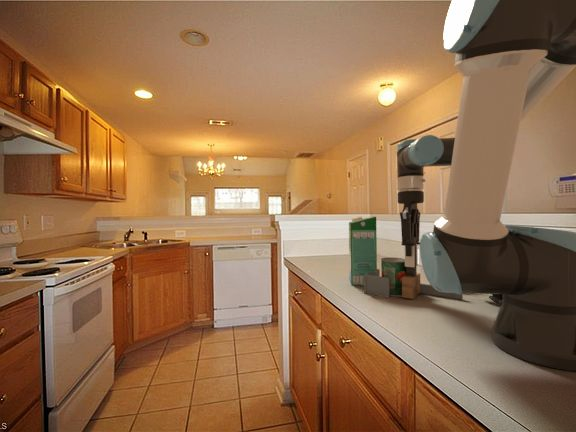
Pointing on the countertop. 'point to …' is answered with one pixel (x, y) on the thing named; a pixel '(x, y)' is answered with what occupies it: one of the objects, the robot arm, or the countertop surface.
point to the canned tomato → (394, 274)
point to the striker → (411, 279)
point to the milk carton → (362, 248)
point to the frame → (382, 286)
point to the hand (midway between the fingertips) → (411, 265)
